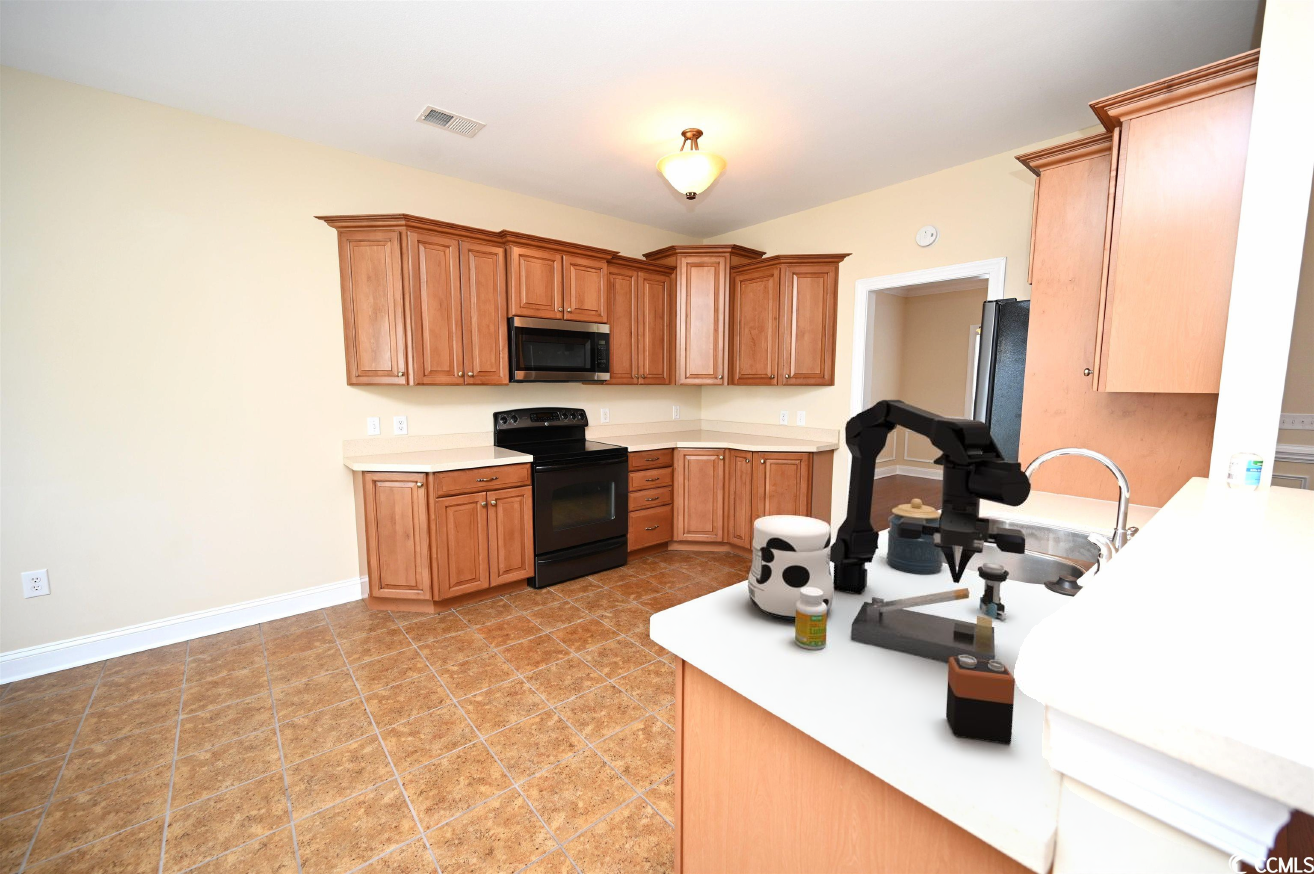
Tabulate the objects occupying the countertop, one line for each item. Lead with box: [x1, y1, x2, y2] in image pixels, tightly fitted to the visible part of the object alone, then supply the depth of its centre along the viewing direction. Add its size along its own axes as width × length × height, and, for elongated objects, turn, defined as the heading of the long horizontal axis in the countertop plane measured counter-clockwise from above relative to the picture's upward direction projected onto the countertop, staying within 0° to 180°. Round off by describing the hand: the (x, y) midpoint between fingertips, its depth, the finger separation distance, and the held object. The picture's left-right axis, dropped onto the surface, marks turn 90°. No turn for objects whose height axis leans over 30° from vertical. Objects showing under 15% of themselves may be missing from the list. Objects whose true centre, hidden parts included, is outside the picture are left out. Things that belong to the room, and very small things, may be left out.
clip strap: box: [873, 587, 970, 612], centre depth 96 cm, size 17×3×1 cm, turn 58°
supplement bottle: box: [794, 587, 828, 651], centre depth 95 cm, size 5×5×10 cm
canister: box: [886, 498, 944, 575], centre depth 136 cm, size 13×13×18 cm
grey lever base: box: [850, 596, 996, 664], centre depth 96 cm, size 22×12×6 cm, turn 58°
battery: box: [945, 655, 1016, 745], centre depth 71 cm, size 4×7×10 cm, turn 75°
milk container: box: [747, 514, 835, 620], centre depth 110 cm, size 17×17×18 cm
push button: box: [977, 562, 1010, 620], centre depth 107 cm, size 7×5×10 cm
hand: (956, 582), depth 93 cm, fingers closed
